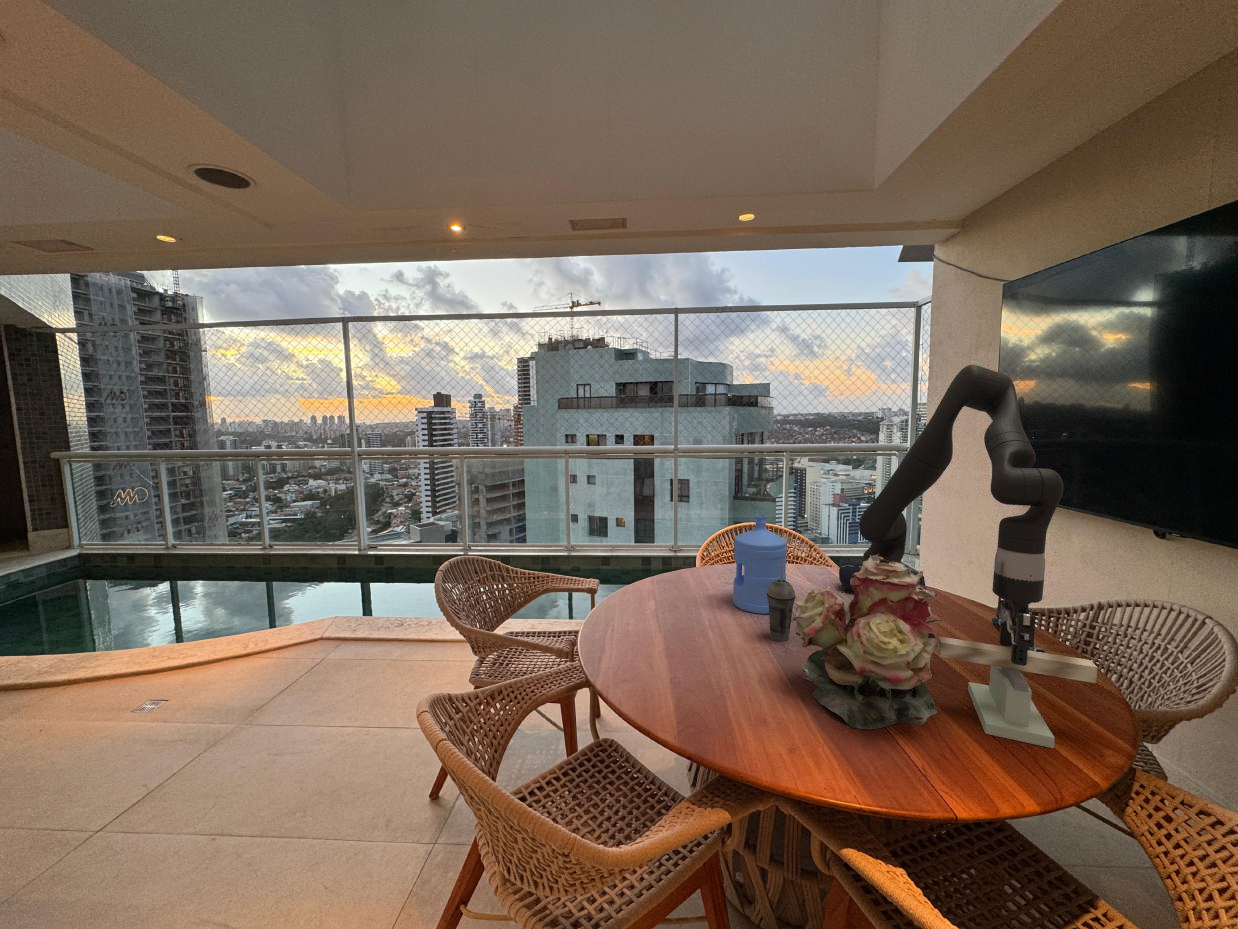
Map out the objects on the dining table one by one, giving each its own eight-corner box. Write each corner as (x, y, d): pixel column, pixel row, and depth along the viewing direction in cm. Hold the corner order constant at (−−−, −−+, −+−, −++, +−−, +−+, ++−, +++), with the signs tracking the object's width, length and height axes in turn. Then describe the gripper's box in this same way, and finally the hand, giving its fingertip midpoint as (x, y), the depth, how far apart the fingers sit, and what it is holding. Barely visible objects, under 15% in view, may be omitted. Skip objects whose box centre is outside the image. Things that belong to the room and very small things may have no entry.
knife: (1046, 670, 114) (1047, 650, 114) (1030, 667, 115) (1031, 648, 115) (1002, 630, 143) (1003, 615, 142) (989, 629, 144) (990, 613, 144)
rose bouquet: (779, 666, 119) (783, 541, 116) (905, 667, 118) (912, 541, 115) (820, 735, 93) (827, 577, 90) (980, 737, 93) (992, 578, 90)
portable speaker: (834, 591, 168) (835, 562, 167) (841, 583, 176) (842, 555, 175) (922, 609, 154) (924, 577, 153) (925, 599, 162) (927, 568, 161)
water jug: (790, 602, 159) (793, 514, 156) (776, 619, 146) (779, 523, 143) (742, 592, 167) (744, 509, 165) (725, 608, 154) (727, 517, 151)
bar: (940, 656, 101) (941, 642, 101) (937, 650, 104) (938, 636, 104) (1095, 683, 91) (1097, 667, 91) (1088, 675, 94) (1090, 660, 94)
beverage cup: (794, 633, 136) (796, 561, 134) (794, 645, 129) (796, 569, 127) (766, 630, 139) (768, 558, 137) (764, 641, 132) (766, 566, 130)
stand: (1053, 748, 90) (1058, 692, 89) (985, 733, 94) (989, 679, 93) (1026, 701, 104) (1030, 653, 103) (967, 690, 108) (971, 643, 107)
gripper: (1057, 587, 88) (1049, 676, 90) (1031, 564, 101) (1024, 642, 103) (1004, 581, 91) (997, 667, 93) (985, 560, 104) (980, 636, 106)
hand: (1011, 654), depth 98 cm, fingers open, 8 cm apart
